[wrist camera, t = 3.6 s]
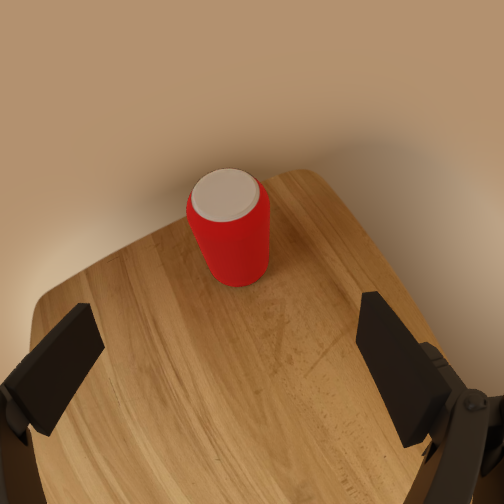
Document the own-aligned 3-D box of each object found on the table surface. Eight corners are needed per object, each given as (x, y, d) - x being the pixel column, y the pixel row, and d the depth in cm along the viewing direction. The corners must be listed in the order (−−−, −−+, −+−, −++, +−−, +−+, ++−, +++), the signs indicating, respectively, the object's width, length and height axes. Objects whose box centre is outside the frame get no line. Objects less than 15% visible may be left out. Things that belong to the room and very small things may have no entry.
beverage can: (205, 245, 31) (176, 171, 20) (259, 231, 31) (256, 152, 21) (217, 297, 28) (187, 240, 18) (276, 281, 29) (282, 215, 18)
